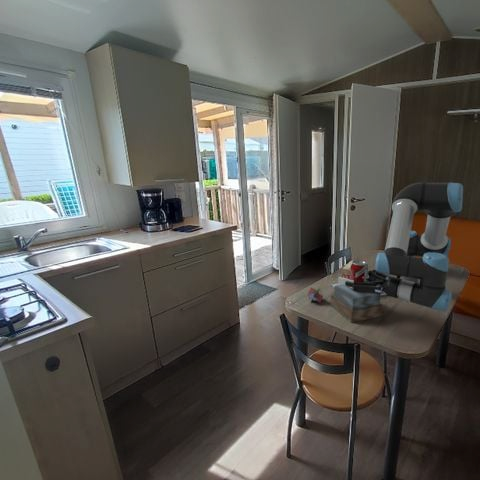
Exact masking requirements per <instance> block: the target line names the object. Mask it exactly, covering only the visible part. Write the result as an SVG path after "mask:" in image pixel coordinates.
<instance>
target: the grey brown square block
mask: <svg viewBox="0 0 480 480" xmlns="http://www.w3.org/2000/svg"><path fill="white" fill-rule="evenodd" d="M333 289H334V292H333V294H331V295H330V303H329V304H330V306H331V308H333V309H334V310H335V311H337V312H338V313H339V314H340V315H341V316H343V317H344V319H346V320H347V321H348V322H350V323H356V322H361V321H365V320H369V319H374V318H378V317H383V310H384V305H383V304H382V303H380V302H381V294H376V293H367V292H357V291H353V290H352V289H351V288H350V287H349V286H345V285H342V284H337V285H334V288H333Z"/></svg>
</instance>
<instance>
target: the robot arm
mask: <svg viewBox="0 0 480 480" xmlns="http://www.w3.org/2000/svg"><path fill="white" fill-rule="evenodd" d="M463 192H464V186H463V184H462V183H459V182H451V181H450V182H415V183H411V184H409V185H407V186H405V187H404V188H403V189H401V190H400V191H399V192H398V193H397V194H396V195H395V197H394V198H393V200H392V204H391V210H392V216H391V220H390V225H389V230H388V234H387V239H386V244H385V247H384V252H379V253H377V254H376V259H375V264H374V265H375V267H374V268H375V269H372V270H368V274H367V278H368V279H369V278H370V279H372V281H367V282H356V281H353V280H349V279H346V278H342V276H338V279H337V280H338V282H337V283H338V284H337V285H345V286H349V287H352V288H353V291H357V292H367V293H376V294H380V295H382V292H385V293H386V295H387V296H388V297H390V298H394V299H398V298H399V300H402V301H405V302H407V303H409V302H410V303H413V304H415V305H420V306H423V307H426V308H430V309H431V310H432V309H433V310H438V311H442V312H445V311H447V310H449V308H450V306H451V302H452V297H453V296H452V295H453V293H452V290H449V289H447V288H446V283H447V277H448V272H449V265H450V259H449V257H448V255H449V252H450V249H451V245H452V244H451V243H452V240H451V238H450V237H448V235H447V231H448V228H449V224H450V220H451V217H453V216H454V215H455V214H456V213H460V212H461V211H462V209H463V199H464V198H463V196H464V195H463V194H464V193H463ZM418 210H419V211H424V212H425V213H426V215H427V218H426V224H425V230H424V232H423V233H422V234H418V233H417V231H415V230H412V226H413V222H414V221H413V219H414V214H415V213H416V212H417V211H418ZM390 275H391V276H390ZM394 276H396V277H394ZM397 276H400V277H402V276H404V277H409V278H416V279H418V280H419V282H418V283H416V282H412V281H408V280H403V281H402V278H400V279H399V278H397Z"/></svg>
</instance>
